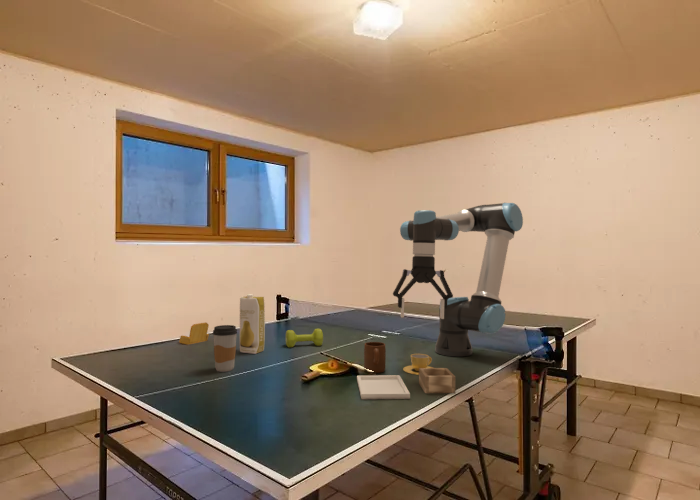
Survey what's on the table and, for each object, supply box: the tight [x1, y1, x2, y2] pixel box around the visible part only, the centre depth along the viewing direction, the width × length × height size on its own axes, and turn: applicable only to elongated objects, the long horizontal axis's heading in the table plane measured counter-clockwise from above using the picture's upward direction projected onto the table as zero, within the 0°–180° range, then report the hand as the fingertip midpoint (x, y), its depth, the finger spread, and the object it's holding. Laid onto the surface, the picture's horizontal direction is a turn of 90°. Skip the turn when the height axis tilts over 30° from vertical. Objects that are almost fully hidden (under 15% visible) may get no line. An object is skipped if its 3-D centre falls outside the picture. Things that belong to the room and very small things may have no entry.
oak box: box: [418, 367, 456, 394], centre depth 132 cm, size 9×9×5 cm
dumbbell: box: [285, 328, 324, 348], centre depth 190 cm, size 16×8×7 cm, turn 106°
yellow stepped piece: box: [178, 322, 209, 345], centre depth 196 cm, size 10×10×9 cm
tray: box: [356, 374, 411, 400], centre depth 131 cm, size 14×18×2 cm
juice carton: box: [239, 293, 266, 355], centre depth 178 cm, size 9×8×24 cm
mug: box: [363, 341, 387, 374], centre depth 149 cm, size 12×8×9 cm, turn 2°
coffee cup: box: [212, 324, 238, 373], centre depth 151 cm, size 8×8×15 cm
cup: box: [402, 353, 434, 376], centre depth 152 cm, size 12×12×5 cm
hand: (422, 318), depth 146 cm, fingers open, 13 cm apart
